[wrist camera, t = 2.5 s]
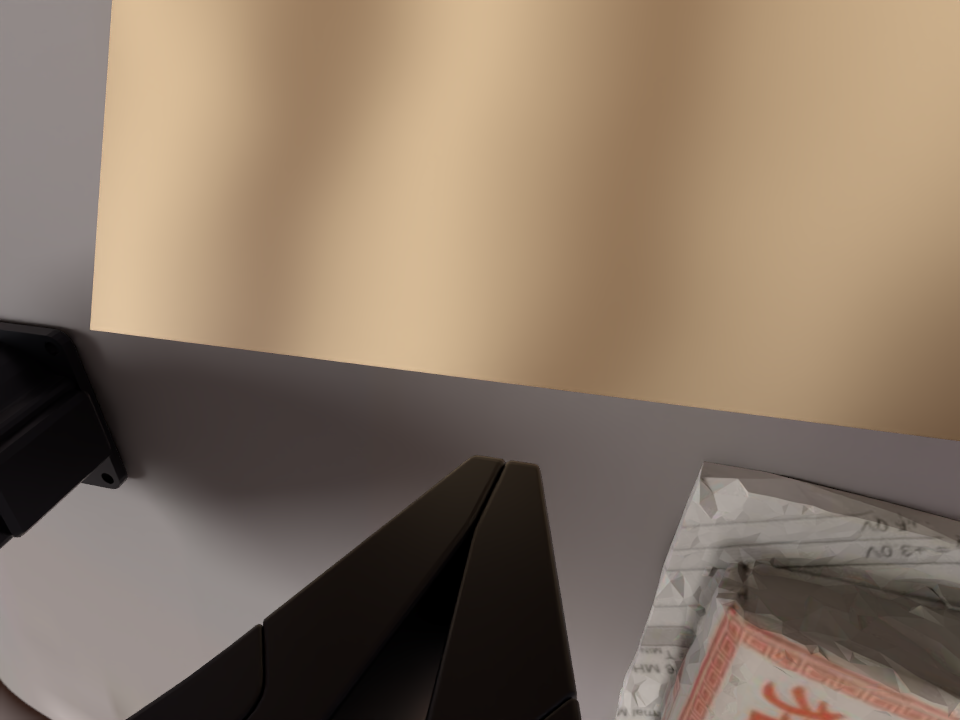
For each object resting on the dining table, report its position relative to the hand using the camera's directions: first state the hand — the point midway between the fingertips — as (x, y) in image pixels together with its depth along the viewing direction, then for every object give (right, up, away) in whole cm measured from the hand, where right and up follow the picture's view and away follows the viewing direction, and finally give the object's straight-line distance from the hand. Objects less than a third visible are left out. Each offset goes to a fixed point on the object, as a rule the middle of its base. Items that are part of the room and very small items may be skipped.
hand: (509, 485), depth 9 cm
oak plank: (+2, +5, +5) cm, 7 cm away
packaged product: (+10, -9, +14) cm, 20 cm away
